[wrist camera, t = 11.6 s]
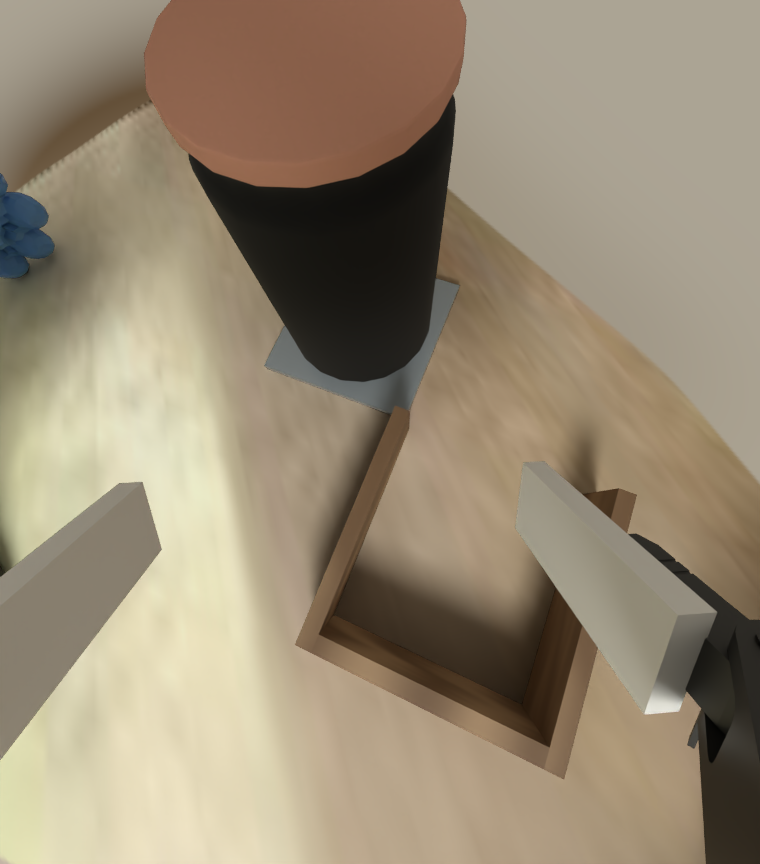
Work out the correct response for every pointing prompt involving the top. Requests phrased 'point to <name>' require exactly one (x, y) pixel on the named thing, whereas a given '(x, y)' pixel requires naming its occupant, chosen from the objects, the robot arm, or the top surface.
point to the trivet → (375, 392)
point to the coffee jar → (322, 156)
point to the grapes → (21, 232)
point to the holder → (439, 687)
